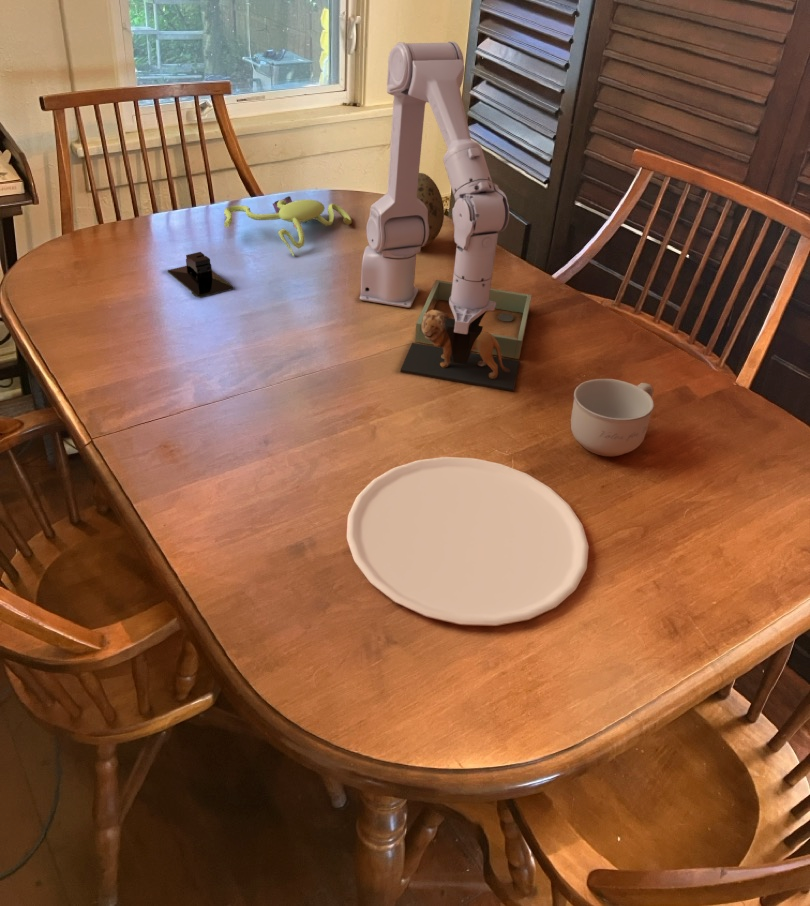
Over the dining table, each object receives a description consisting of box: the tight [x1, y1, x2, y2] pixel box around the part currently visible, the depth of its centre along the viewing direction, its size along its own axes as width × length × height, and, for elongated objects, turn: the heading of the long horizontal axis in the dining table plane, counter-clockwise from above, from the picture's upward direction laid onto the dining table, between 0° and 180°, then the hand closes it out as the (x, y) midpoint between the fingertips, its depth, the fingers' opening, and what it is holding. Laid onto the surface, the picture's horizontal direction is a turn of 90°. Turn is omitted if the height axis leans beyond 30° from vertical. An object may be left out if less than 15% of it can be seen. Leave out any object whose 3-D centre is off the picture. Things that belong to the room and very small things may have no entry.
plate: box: [346, 456, 590, 627], centre depth 97 cm, size 29×29×1 cm
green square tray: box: [414, 279, 533, 360], centre depth 139 cm, size 18×18×4 cm
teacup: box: [570, 378, 655, 457], centre depth 113 cm, size 14×11×8 cm
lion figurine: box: [421, 309, 510, 379], centre depth 125 cm, size 15×5×9 cm, turn 79°
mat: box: [399, 342, 521, 393], centre depth 129 cm, size 18×9×1 cm, turn 78°
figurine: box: [223, 195, 352, 257], centre depth 167 cm, size 18×27×6 cm
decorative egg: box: [417, 172, 445, 248], centre depth 162 cm, size 11×11×15 cm
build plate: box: [167, 251, 234, 298], centre depth 146 cm, size 12×7×5 cm, turn 39°
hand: (462, 353), depth 127 cm, fingers open, 5 cm apart
